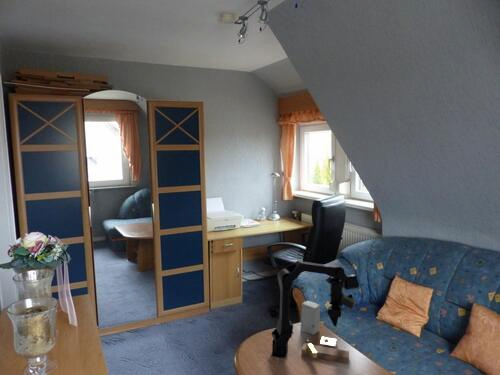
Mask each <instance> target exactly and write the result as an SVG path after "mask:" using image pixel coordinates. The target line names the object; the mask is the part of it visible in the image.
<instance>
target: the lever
mask: <svg viewBox="0 0 500 375" xmlns="http://www.w3.org/2000/svg"><path fill="white" fill-rule="evenodd" d="M304 342H305V344H306V347H307V349H308V350H309V352H310V354H311V355H312V357H311V358H313V359H318V358H317V351H316V350H315V348H314V347H313V345H314V344H312V343H311V342H312V340H311V339H310V338H306V339H304Z"/></svg>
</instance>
